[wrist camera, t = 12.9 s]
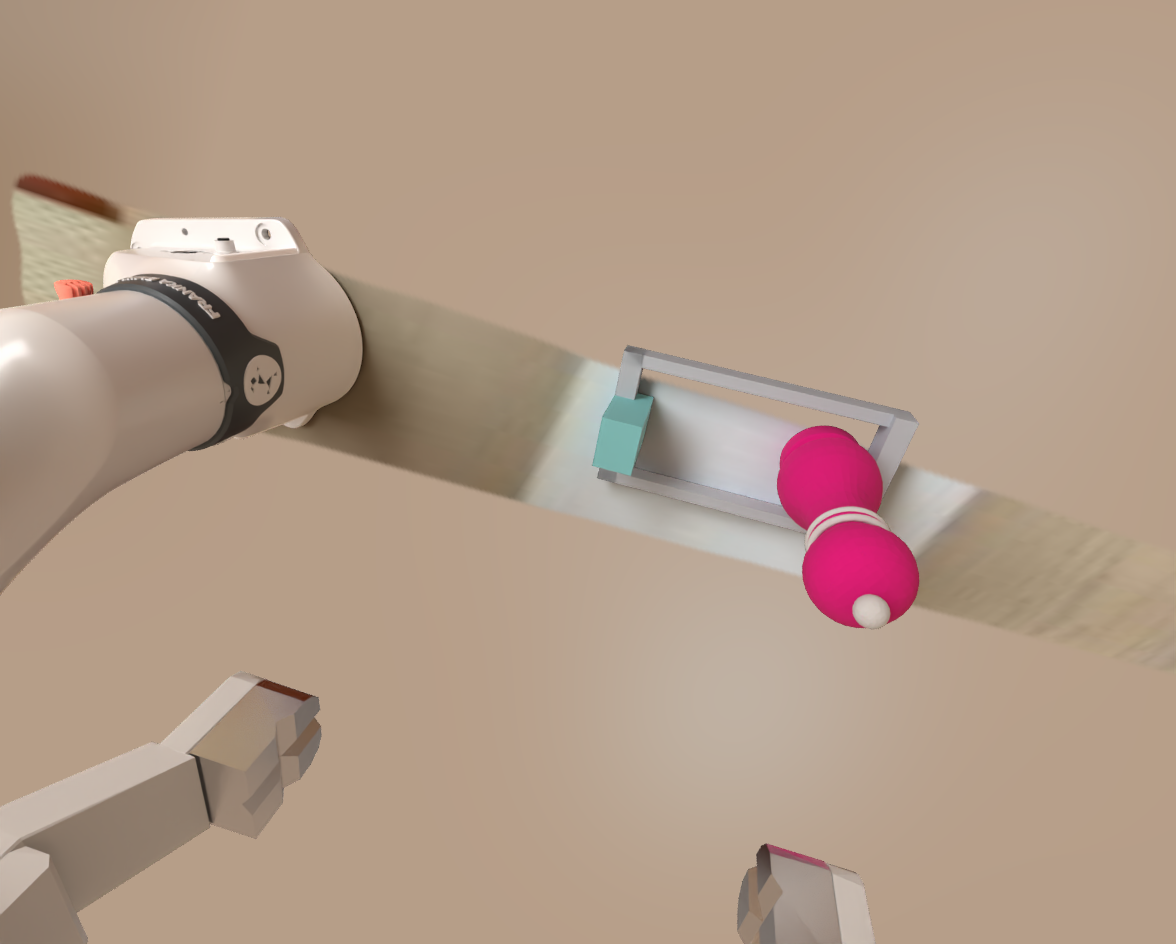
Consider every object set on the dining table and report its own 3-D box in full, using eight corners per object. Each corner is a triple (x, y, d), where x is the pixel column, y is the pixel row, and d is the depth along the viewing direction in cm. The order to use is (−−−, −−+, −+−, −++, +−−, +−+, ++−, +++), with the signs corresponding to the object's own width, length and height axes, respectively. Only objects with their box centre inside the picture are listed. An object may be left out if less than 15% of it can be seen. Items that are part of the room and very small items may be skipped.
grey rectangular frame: (601, 469, 51) (583, 507, 45) (627, 345, 46) (612, 368, 40) (851, 535, 49) (868, 584, 43) (909, 411, 44) (939, 447, 37)
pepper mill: (887, 469, 46) (985, 641, 28) (806, 515, 49) (849, 695, 31) (834, 401, 44) (904, 537, 27) (755, 452, 48) (770, 604, 30)
